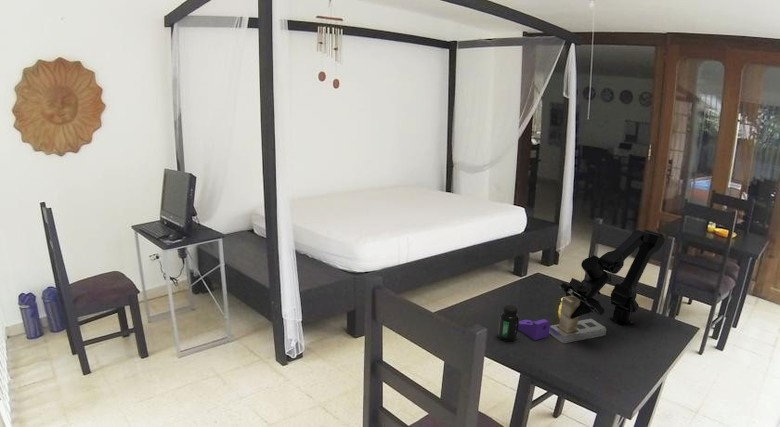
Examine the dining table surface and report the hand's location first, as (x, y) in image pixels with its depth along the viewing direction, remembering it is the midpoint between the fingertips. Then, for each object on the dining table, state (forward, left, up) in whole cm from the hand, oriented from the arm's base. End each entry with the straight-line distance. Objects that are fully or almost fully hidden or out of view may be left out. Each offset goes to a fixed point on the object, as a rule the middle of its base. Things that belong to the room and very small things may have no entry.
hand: (566, 315), depth 183 cm
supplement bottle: (+21, -6, -9) cm, 23 cm away
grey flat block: (-6, 0, -9) cm, 11 cm away
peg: (-1, 0, -7) cm, 7 cm away
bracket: (+10, -8, -9) cm, 15 cm away
